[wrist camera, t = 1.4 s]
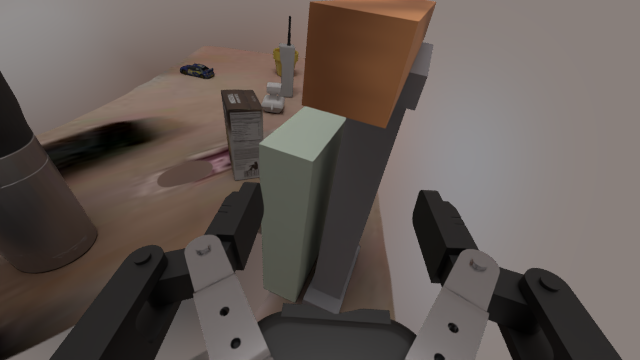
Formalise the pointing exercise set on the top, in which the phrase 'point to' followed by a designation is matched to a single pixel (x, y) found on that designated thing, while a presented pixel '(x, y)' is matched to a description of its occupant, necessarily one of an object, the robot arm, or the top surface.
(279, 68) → the plant pot
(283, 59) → the vintage mobile phone
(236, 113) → the coffee box
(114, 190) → the top surface
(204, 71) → the race car
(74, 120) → the top surface
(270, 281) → the pale green tall block
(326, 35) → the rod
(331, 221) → the tall stand
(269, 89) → the stamp
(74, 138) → the top surface
